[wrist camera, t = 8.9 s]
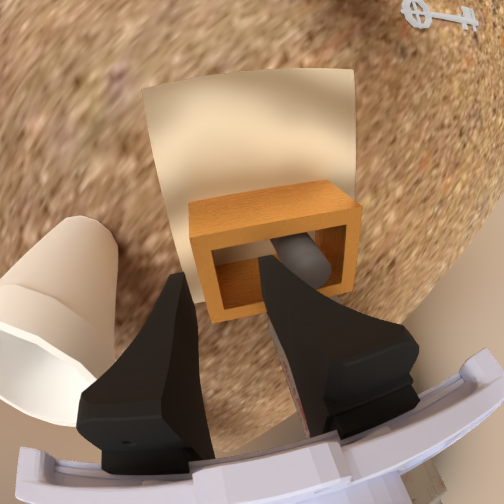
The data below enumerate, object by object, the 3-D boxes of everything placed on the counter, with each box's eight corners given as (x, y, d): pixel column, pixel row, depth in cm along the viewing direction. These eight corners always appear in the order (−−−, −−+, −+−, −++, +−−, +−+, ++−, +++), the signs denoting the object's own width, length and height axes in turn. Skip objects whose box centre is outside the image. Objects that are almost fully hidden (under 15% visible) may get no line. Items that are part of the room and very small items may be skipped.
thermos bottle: (275, 349, 32) (357, 583, 8) (260, 301, 27) (368, 606, 4) (340, 326, 32) (447, 540, 9) (338, 275, 28) (489, 539, 4)
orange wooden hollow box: (205, 278, 23) (211, 323, 19) (188, 202, 19) (188, 238, 15) (325, 253, 24) (352, 290, 20) (327, 179, 20) (362, 206, 16)
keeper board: (341, 260, 27) (381, 314, 20) (191, 292, 25) (197, 360, 19) (343, 69, 17) (409, 71, 11) (144, 89, 16) (117, 89, 10)
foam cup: (31, 193, 17) (-66, 301, 6) (138, 200, 20) (93, 337, 9) (46, 290, 22) (0, 408, 11) (136, 300, 24) (124, 435, 14)
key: (392, -6, 14) (402, 28, 16) (399, -7, 13) (410, 27, 15) (470, 9, 14) (476, 36, 16) (476, 9, 13) (483, 36, 15)
